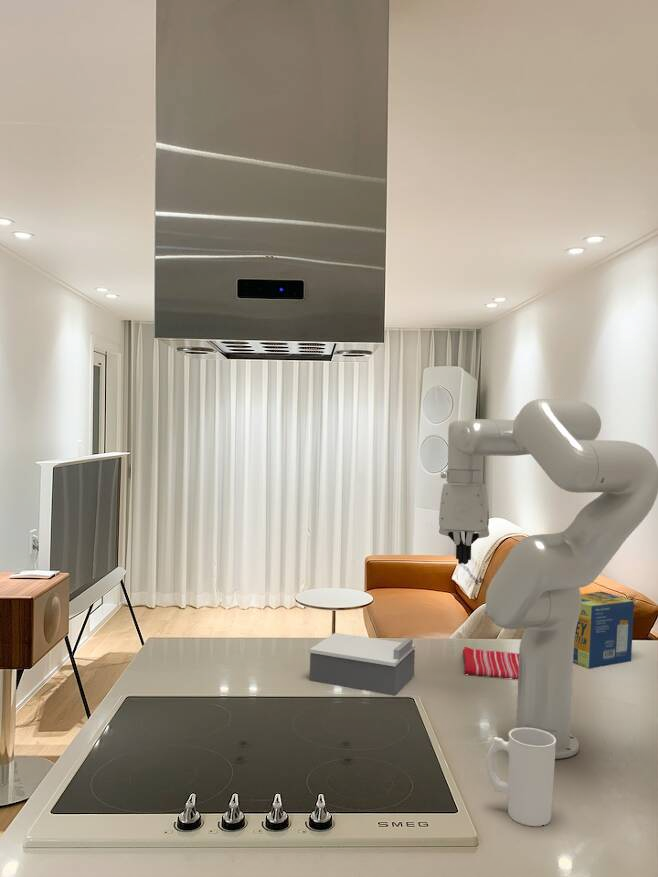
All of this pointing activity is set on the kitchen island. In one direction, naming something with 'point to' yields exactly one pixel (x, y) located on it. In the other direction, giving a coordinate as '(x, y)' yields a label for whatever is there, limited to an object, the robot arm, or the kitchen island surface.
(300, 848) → the kitchen island surface
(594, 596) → the protein box
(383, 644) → the lid
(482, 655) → the dish towel
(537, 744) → the mug
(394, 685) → the housing
